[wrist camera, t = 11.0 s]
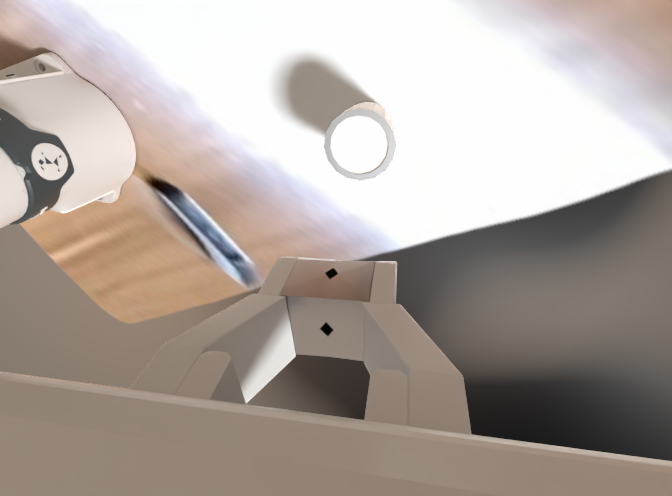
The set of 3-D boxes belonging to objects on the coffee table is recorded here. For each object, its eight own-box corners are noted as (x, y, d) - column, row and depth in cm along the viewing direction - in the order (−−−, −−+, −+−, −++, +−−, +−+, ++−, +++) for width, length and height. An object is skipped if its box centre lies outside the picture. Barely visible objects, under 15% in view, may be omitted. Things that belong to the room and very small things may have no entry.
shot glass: (384, 167, 41) (379, 190, 36) (329, 146, 41) (315, 166, 35) (408, 109, 38) (407, 124, 32) (348, 85, 37) (336, 96, 32)
